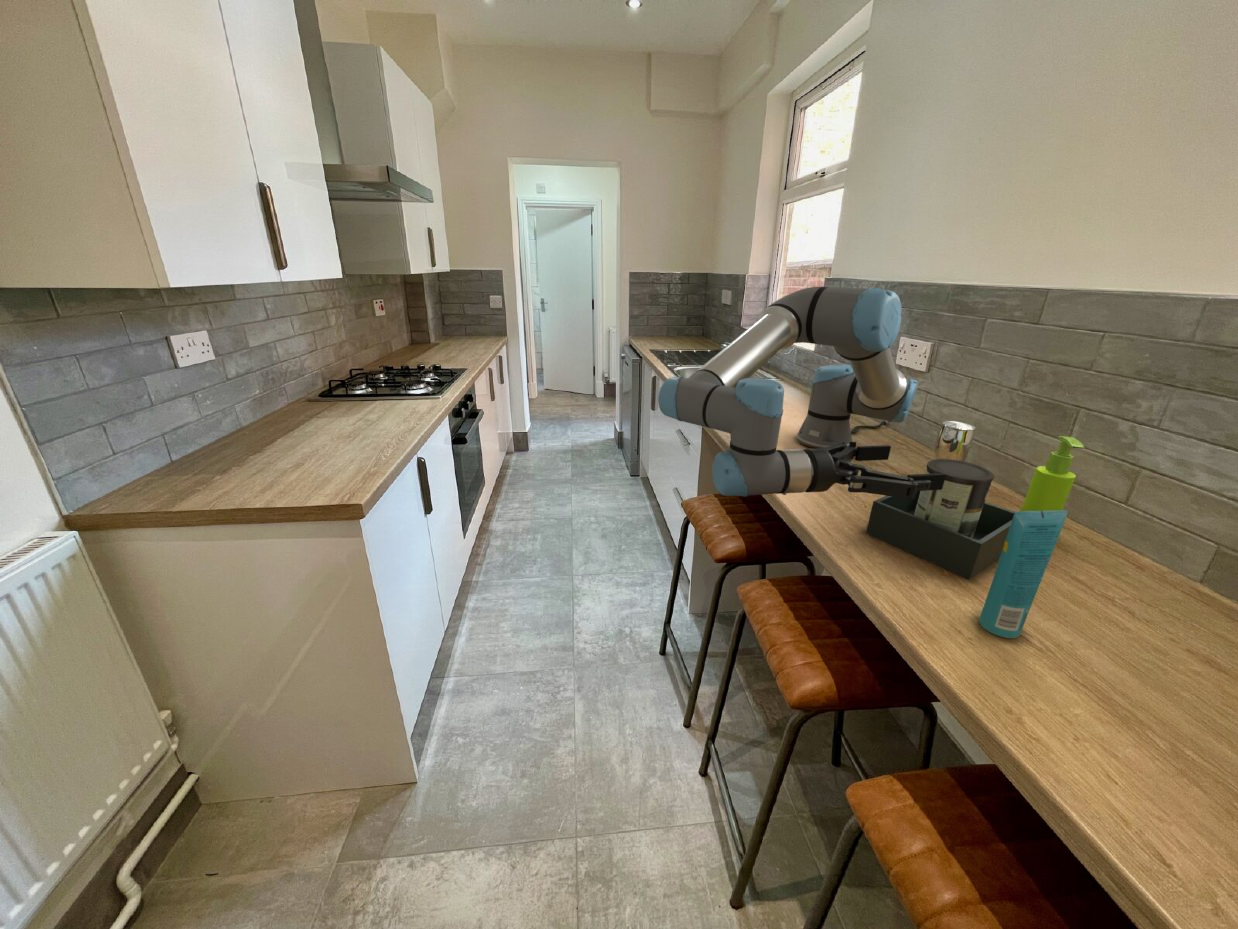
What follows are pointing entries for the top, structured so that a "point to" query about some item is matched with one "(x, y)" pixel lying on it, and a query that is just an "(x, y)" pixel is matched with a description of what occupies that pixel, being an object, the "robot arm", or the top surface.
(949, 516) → the coffee can
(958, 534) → the storage bin
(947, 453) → the silver metal cylinder
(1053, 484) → the soap dispenser
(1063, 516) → the tube
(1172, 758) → the top surface
